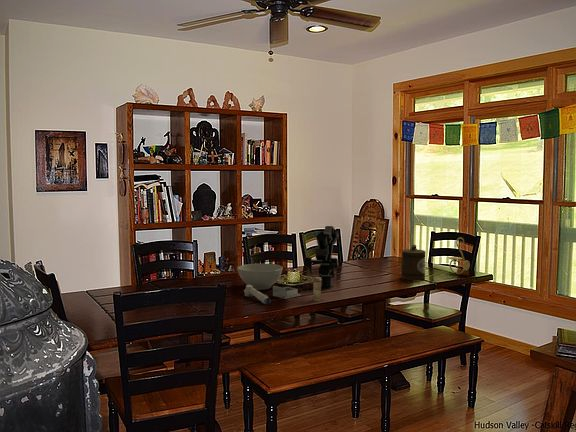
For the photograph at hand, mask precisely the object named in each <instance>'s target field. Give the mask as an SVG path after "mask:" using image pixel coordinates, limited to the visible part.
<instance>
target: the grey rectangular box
mask: <svg viewBox="0 0 576 432" xmlns="http://www.w3.org/2000/svg"><path fill="white" fill-rule="evenodd" d="M298 291H299V290H298V288H293V287H290V286H285V287H280V286H277V285H272V296H273V297H276V298H280V299H283V300H287V299H292V298H296V297H300V296H302V294H301V293H298Z"/></svg>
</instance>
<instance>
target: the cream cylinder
mask: <svg viewBox="0 0 576 432" xmlns="http://www.w3.org/2000/svg"><path fill="white" fill-rule="evenodd" d="M312 283H313V284H312V285H313V286H312V287H313V288H312V297H313V298H312V299H313V301H314V302H320V301H321V300H322V298H321V297H322V293H321V292H322V288H321V286H322V277H319V276H315V277H313V278H312Z"/></svg>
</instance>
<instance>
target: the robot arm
mask: <svg viewBox="0 0 576 432" xmlns="http://www.w3.org/2000/svg"><path fill="white" fill-rule="evenodd" d="M338 238H339V233H338V230H337V229H336V228H335V227H334V226H333V225H326V226H324V229H323V231H320V232H319V233H317V235H316V237H315V239H316V243H317V248H316V249H315V253H314V254H315V259H312V257H310V256H305V257H304V258H303V263H304V267H306V268H308V269H309V273H310V276H312V274H313V264H315V265H316V264H319V266H318V277H320V278H321V289H331V288H333V287H334V285H332V278H335V277H336V275H335V270H336V268H338V267H339V259H338V258H336V257H332V256H333V249H334V245H335V244H336V242H337V240H338Z"/></svg>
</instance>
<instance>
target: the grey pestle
mask: <svg viewBox="0 0 576 432" xmlns="http://www.w3.org/2000/svg"><path fill="white" fill-rule="evenodd" d="M243 292H244V296H245V297H253V296H254V297H255V298H257V300H258V301H260V302H261V303H262V304H264V305H270V304H271V303H272V301H271V298H270V297H269V296H268V295H267V294H264V293H262V292H261V291H260V290H256V289H254V288H253V287H252V285H247V284H245V289H243Z"/></svg>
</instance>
